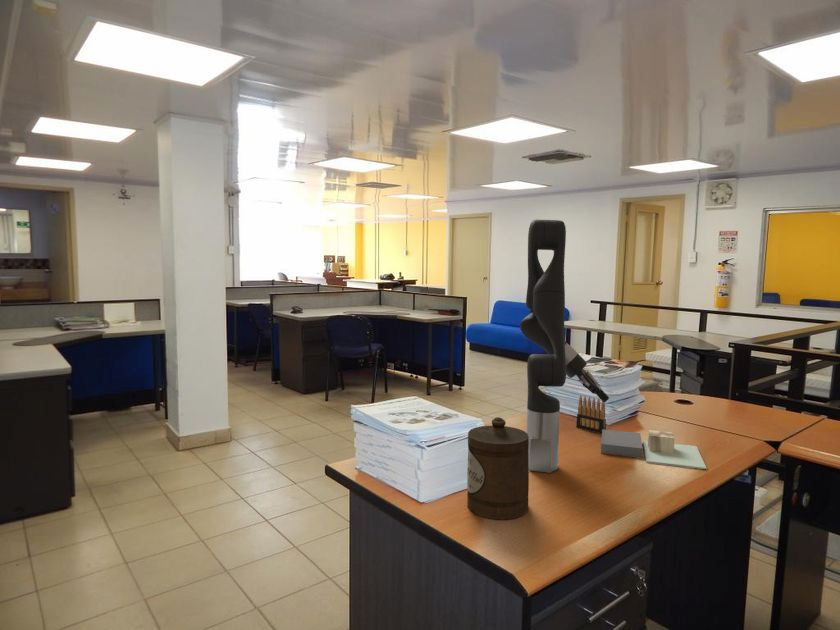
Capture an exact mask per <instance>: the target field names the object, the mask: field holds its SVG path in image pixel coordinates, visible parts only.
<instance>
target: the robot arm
mask: <svg viewBox="0 0 840 630" xmlns="http://www.w3.org/2000/svg"><path fill="white" fill-rule="evenodd" d="M566 241H567V228H566V224H565V222H564V221H563V220H558V219H533V220H531V222H530V224H529V227H528V235H527V288H526V298H525V305H526V308H527V309H528V310H529V314H528V315H527V316H525V317H524V318H523V319H522V320H521V321H520V322H519V329H520V331H521V333H522V335H523V336H524V337H525V338H527V340H529V341H531V342H532V343H533V344H535V345H537V346H539V348H541V349H543V350H544V352H545V353H532V354H530V355H529V356H528V358H527V366H526V371H527V372H526V373H527V374H526V377H527V402H526V403H527V406H526V410H527V412H526V433H527V434H528V438H529V447H528V448H529V449H528V467H529V471H532V472H540V473H548V474H551V473H553V472H554V471H557V470H558V469H559V447H560V446H559V445H560V443H559V441H560V415H561V413H560V409H561V403H560V400H559V399H558V398H556V397H554V396H552V395H549V394H547V393H546V392H543V391H542V390H541V389H540V388H539V387H552V388H553V387H554V388H555V387H559V388H560V387H563V386H564V385H565V383H566V379H567V377H568V378H570V379H571V378H574V377H575V376H576V377H577V378H578V382H579V383H580V384H581V385H582V386H583V388H585V389H587V390H588V391H589V392H591V393H592V394H593V395H596V396H597V397H598V399H599V400H600V401H601V402H602V401H603V402H605V403H606V402H607V401H608V400H609V399H610V397H609V395H607V393H606V392H605V391H604V390H603V389H602V387H601V385H600V384H599V382H598V381H597V380H596V379H595V377H594V376H593V374H592V373H591V372H590V371H588V370H585V367H586V366H587V364H588V363H587V361H586V360H585V359H584V358H583V357H582V356H581V355H580V354H579V353H578V351H576V350H575V349H574V347H572V346H571V345H570V344H568V342H567V341H566V340H565V315H566V314H565V313H566V311H565V310H566V299H565V298H566V297H565V296H566V294H565V293H566V291H565V290H566V289H565V286H566V285H565V258H566ZM541 250H542V251H553V254H552V255H553V256H552V259H551V261H550V263H549V265H548V266H547V268H546V270H545V271H544V269H543V267H542V265H541V263H540V259H539V254H538V252H539V251H541Z"/></svg>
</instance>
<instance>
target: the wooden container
mask: <svg viewBox="0 0 840 630" xmlns="http://www.w3.org/2000/svg"><path fill="white" fill-rule="evenodd" d="M505 425H506V421H505V419H504V418H502V417H498V416H497V417H494V418H493V419H492V420H491V425H483V426H482V425H481V426H476V427H473V428H471V429H470V430H469V431H468V432H467V446H468V447H467V471H466V473H467V477H466V481H467V482H466V484H467V486H466V487H467V488H466V489H467V490H466V491H467V495H466V496H467V501H466V504H467V507H468V509H469V510H470V511H471V512H472V511H473V512H472V513H474V514H476V515H478V516H479V517H481V518H482V517H483V518H486V519H491V520H504V521H505V520H511V519H512V520H513V519H517V518H520V517H522V516H523V515H525V514H526V513H527V512H528V510H529V490H530V484H529V483H530V482H529V481H530V480H529V479H530V478H529V477H530V474H529V473H530V470H529V467H528V449H529V448H528V447H529V438H528V434H527V431H525V430H524V429H520V428H516V427H512V426H507V425H506V426H505Z"/></svg>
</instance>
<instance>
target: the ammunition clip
mask: <svg viewBox="0 0 840 630" xmlns="http://www.w3.org/2000/svg"><path fill="white" fill-rule="evenodd" d="M606 421H607V419H606V402H603V401H602V400H601V399H600V398H597V400H596V398H595V397H593V398H592V399H591V397H590V396H589V397H588V399H587V396H586V395H584V397H582V395H581V394H580V396H579V398H578V405H577V415H576V422H575V423H576V424H575V427H576V428H577V427H579V428H578V429H581V428H582V430H585V429H586V431H589V430H590V432H593V431H594V432H593V433H597V432H598V433H599V434H601V435H602V429H604V430H607V429H606V428H607V427H606V426H607V424H606ZM598 433H597V434H598Z"/></svg>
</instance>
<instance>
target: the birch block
mask: <svg viewBox="0 0 840 630" xmlns="http://www.w3.org/2000/svg"><path fill="white" fill-rule="evenodd" d="M647 437H648V439H647V441H648V447H649V451H653V452H663V453H672V454H674V444H675V442H676V441H675V439H676V438H675V436H674V433H673V432H671V431H661V430H652V429H651V430H650V429H648V435H647Z"/></svg>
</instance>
